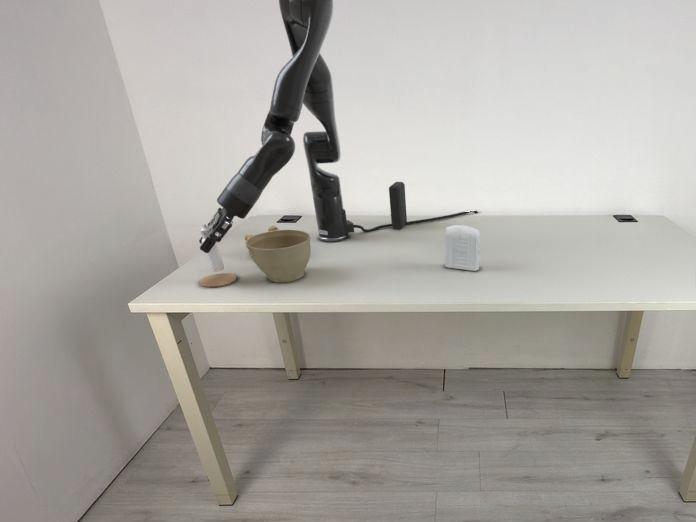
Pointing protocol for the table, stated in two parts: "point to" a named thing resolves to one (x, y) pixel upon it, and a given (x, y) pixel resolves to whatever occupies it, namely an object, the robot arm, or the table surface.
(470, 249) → the white arched tombstone
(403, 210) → the card reader
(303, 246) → the planter bowl
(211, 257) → the eye dropper bottle
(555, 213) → the table surface
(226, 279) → the cork coaster
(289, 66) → the robot arm
